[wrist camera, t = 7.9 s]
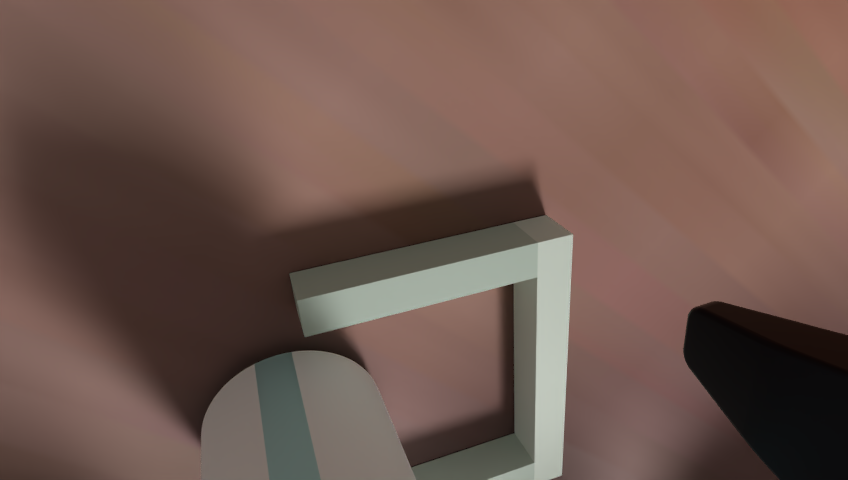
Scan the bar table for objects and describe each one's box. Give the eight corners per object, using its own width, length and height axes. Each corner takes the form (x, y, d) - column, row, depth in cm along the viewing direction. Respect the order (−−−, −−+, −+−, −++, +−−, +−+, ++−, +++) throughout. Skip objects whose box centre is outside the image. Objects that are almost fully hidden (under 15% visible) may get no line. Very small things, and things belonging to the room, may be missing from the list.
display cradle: (541, 445, 29) (561, 475, 28) (339, 515, 27) (349, 552, 25) (546, 214, 24) (572, 234, 22) (289, 273, 21) (296, 300, 19)
